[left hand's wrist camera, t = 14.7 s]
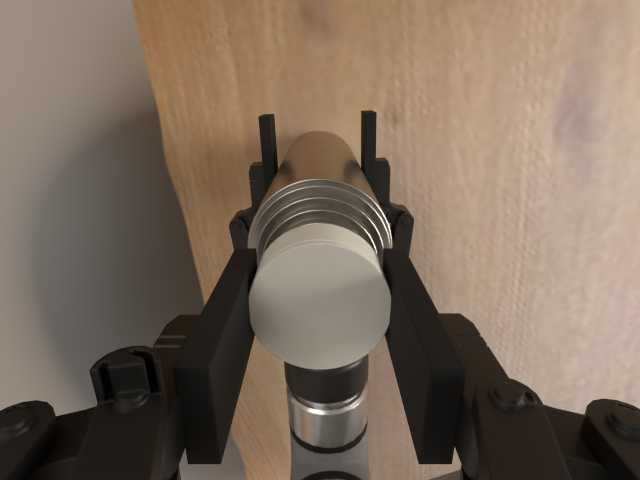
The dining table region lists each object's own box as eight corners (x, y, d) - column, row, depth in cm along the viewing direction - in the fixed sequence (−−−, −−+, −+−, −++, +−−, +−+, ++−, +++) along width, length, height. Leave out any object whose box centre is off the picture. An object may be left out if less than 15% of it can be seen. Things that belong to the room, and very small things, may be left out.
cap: (263, 338, 16) (256, 373, 14) (249, 226, 14) (238, 247, 12) (383, 333, 15) (392, 366, 14) (382, 219, 14) (393, 239, 12)
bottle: (287, 204, 37) (236, 387, 14) (281, 133, 35) (207, 217, 12) (356, 200, 37) (414, 378, 14) (354, 128, 35) (420, 205, 12)
